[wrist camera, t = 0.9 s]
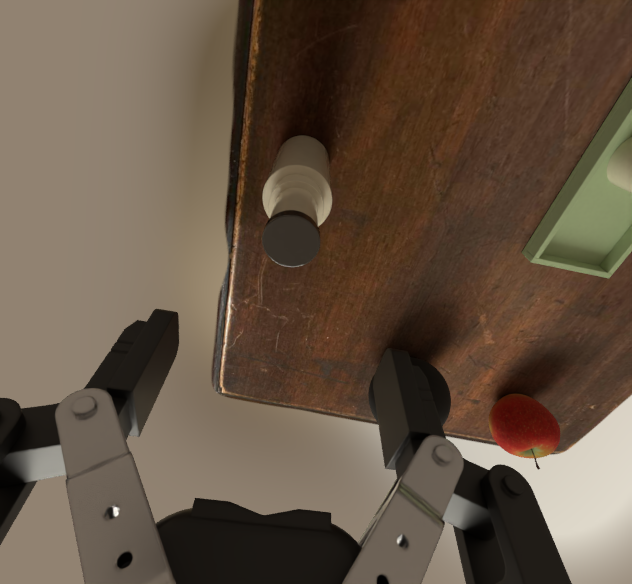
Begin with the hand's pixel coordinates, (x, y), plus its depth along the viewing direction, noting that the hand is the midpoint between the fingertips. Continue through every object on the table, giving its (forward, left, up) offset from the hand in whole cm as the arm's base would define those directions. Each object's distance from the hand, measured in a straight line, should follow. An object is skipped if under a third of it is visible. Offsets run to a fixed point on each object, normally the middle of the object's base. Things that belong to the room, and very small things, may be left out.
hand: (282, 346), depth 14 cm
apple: (+27, +36, -24) cm, 51 cm away
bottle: (0, 0, -24) cm, 24 cm away
